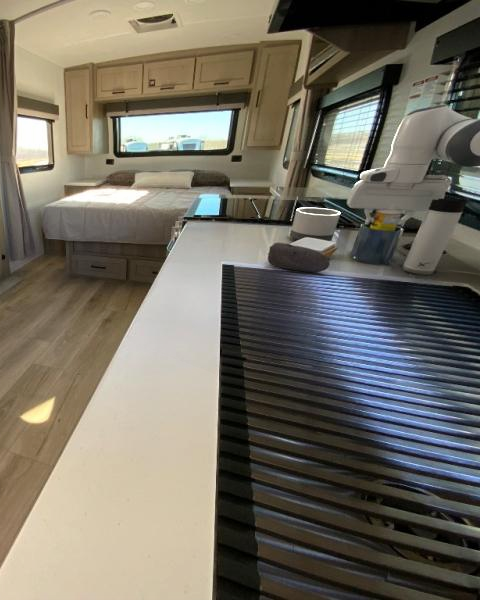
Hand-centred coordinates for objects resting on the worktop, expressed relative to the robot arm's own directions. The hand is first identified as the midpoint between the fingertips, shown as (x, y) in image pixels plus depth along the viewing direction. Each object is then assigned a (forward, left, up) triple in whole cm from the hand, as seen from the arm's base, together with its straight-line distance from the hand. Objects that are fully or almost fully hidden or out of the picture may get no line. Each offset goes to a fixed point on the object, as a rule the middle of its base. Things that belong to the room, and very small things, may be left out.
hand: (383, 225), depth 96 cm
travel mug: (-9, +7, -11) cm, 16 cm away
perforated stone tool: (+21, +18, -11) cm, 30 cm away
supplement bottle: (0, 0, -4) cm, 4 cm away
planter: (+14, -16, -11) cm, 24 cm away
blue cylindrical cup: (0, 0, -11) cm, 11 cm away
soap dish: (+17, +6, -11) cm, 21 cm away
